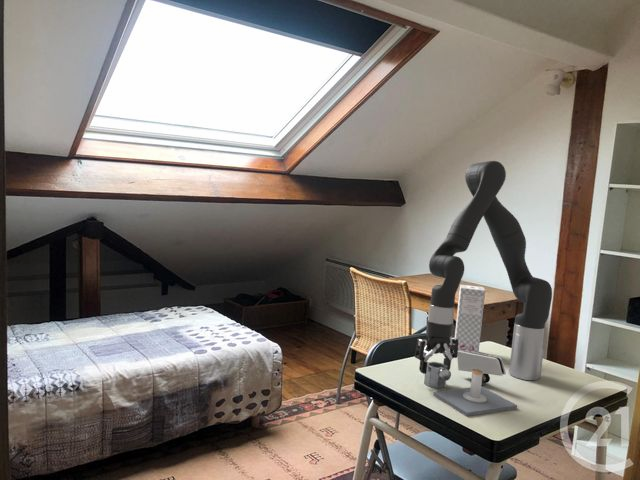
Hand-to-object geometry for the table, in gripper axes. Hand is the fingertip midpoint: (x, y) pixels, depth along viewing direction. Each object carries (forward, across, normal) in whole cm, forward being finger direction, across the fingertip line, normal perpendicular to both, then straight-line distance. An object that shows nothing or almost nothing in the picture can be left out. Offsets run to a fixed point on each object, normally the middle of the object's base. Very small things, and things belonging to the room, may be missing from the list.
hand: (434, 372), depth 151 cm
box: (+4, -33, -24) cm, 41 cm away
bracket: (0, -14, -4) cm, 14 cm away
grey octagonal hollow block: (+4, 0, 0) cm, 4 cm away
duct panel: (+4, -4, +14) cm, 15 cm away
